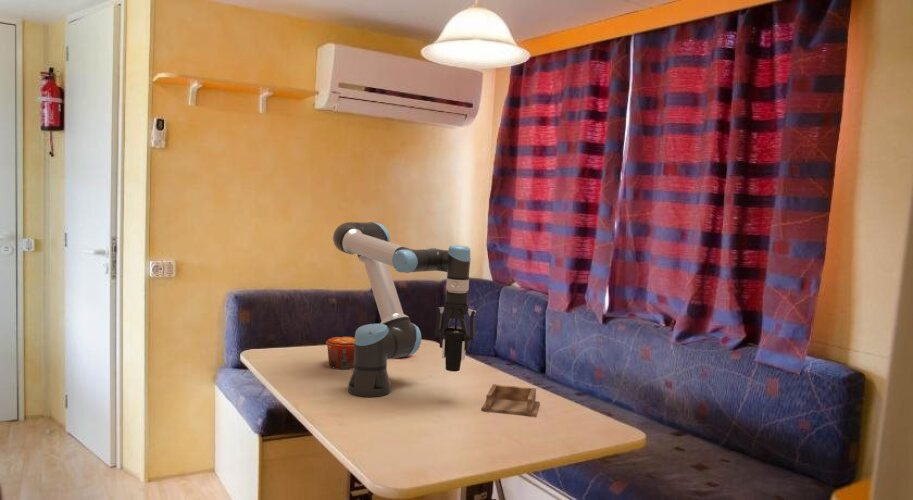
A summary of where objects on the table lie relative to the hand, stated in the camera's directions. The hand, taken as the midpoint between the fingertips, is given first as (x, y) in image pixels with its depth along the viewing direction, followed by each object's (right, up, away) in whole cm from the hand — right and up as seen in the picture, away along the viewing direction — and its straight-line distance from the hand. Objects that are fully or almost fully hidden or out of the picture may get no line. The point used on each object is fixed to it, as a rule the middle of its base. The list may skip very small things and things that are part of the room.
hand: (453, 358), depth 222 cm
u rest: (+19, -16, -2) cm, 25 cm away
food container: (-45, -11, +46) cm, 65 cm away
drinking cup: (0, -4, 0) cm, 4 cm away
